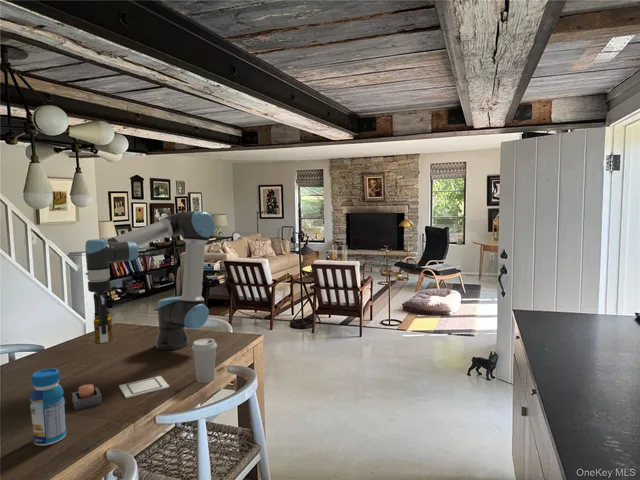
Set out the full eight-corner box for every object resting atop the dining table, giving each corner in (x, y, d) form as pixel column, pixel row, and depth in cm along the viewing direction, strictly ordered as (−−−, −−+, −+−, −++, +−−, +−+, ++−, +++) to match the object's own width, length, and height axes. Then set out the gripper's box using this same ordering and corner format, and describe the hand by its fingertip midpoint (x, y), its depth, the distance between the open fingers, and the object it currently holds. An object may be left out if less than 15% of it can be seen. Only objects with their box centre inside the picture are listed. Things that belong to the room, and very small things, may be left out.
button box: (98, 395, 155) (97, 387, 155) (101, 403, 148) (101, 394, 148) (72, 401, 150) (72, 392, 150) (75, 410, 144) (74, 401, 144)
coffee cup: (208, 386, 161) (207, 346, 160) (187, 382, 165) (185, 344, 163) (223, 376, 170) (221, 339, 169) (202, 373, 174) (201, 336, 172)
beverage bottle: (62, 444, 123) (57, 376, 122) (28, 449, 121) (23, 379, 119) (70, 429, 131) (66, 365, 130) (38, 433, 129) (33, 368, 127)
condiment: (104, 345, 162) (101, 314, 161) (86, 343, 164) (84, 312, 163) (118, 339, 169) (116, 309, 168) (101, 337, 171) (99, 308, 170)
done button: (93, 391, 152) (92, 383, 152) (95, 395, 149) (94, 387, 148) (78, 394, 150) (77, 386, 150) (79, 399, 146) (79, 390, 146)
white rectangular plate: (160, 377, 170) (160, 375, 170) (169, 387, 161) (169, 385, 160) (119, 387, 162) (119, 385, 162) (125, 398, 152) (125, 396, 152)
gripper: (84, 277, 169) (88, 335, 171) (91, 285, 154) (95, 348, 156) (105, 275, 174) (109, 332, 176) (114, 282, 158) (118, 344, 160)
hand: (102, 339), depth 166 cm, fingers closed on condiment, 6 cm apart
